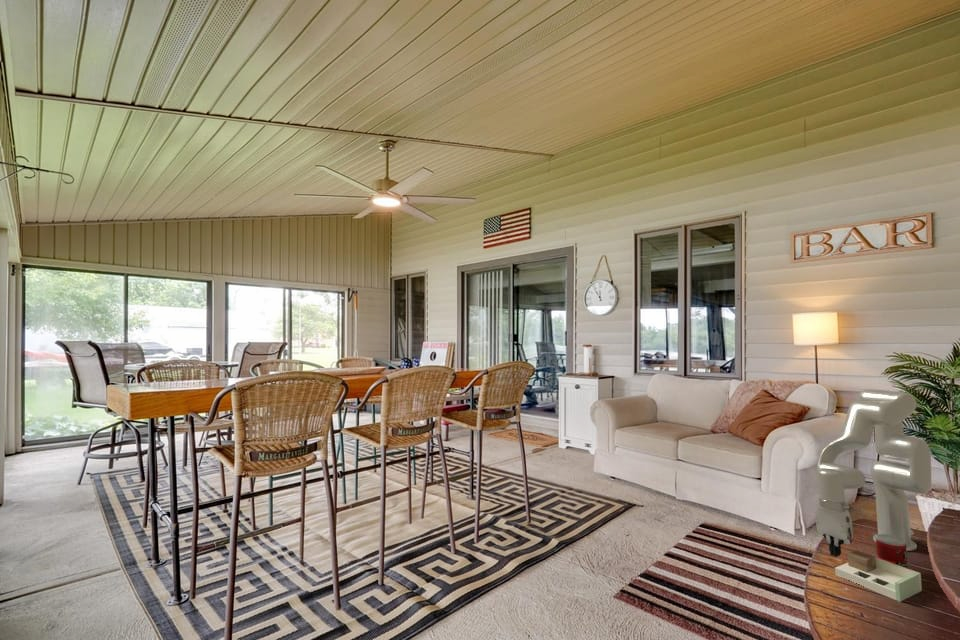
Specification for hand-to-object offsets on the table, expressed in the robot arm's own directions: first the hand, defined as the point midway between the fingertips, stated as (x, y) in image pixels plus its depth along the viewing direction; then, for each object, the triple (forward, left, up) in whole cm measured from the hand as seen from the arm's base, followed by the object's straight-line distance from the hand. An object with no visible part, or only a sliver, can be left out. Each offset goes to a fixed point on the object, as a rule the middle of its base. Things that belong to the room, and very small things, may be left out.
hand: (835, 555), depth 166 cm
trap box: (+2, +13, -3) cm, 14 cm away
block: (0, +8, -1) cm, 8 cm away
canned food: (-11, +12, -3) cm, 17 cm away
